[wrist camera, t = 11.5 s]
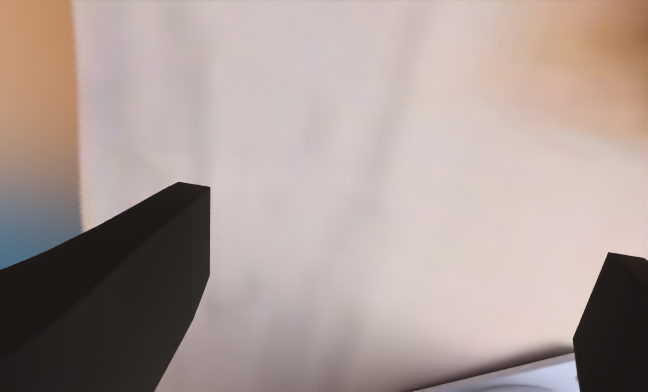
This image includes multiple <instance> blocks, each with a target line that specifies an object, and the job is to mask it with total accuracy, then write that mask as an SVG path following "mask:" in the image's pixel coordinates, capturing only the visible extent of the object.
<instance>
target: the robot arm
mask: <svg viewBox="0 0 648 392" xmlns="http://www.w3.org/2000/svg"><path fill="white" fill-rule="evenodd" d="M209 276H210V187H207V186H201V185H195V184H189V183H183V182H177V183H175V184H173V185H171V186H169V187H167V188H165V189H163V190H161V191H160V192H158V193H156V194H154V195H152V196H151V197H149V198H147V199H145V200H144V201H142V202H140V203H138V204H137V205H135V206H133V207H131V208H129V209H128V210H126V211H124V212H122V213H120V214H119V215H117V216H115V217H113V218H111V219H109V220H108V221H106V222H104V223H102V224H100V225H98V226H97V227H95V228H92V229H90V230H88V231H86V232H84V233H82V234H80V235H78V236H76V237H74V238H72V239H70V240H68V241H66V242H64V243H62V244H60V245H58V246H56V247H54V248H52V249H50V250H48V251H45V252H43V253H41V254H39V255H36V256H34V257H31V258H29V259H27V260H24V261H22V262H20V263H17V264H14V265H12V266H9V267H7V268H4V269H1V270H0V392H154V391H155V389H156V387H157V385H158V383H159V382H160V380H161V378H162V376H163V374H164V373H165V371H166V369H167V367H168V365H169V363H170V362H171V360H172V358H173V356H174V354H175V352H176V351H177V349H178V347H179V345H180V343H181V341H182V339H183V338H184V336H185V334H186V332H187V330H188V328H189V326H190V324H191V322H192V321H193V318H194V316H195V313H196V311H197V308H198V306H199V303H200V300H201V298H202V295H203V292H204V290H205V287H206V284H207V281H208V279H209ZM573 346H574V353H571V354H566V355H562V356H558V357H554V358H550V359H546V360H542V361H537V362H533V363H529V364H525V365H521V366H517V367H513V368H508V369H504V370H500V371H496V372H492V373H488V374H484V375H480V376H475V377H471V378H467V379H463V380H459V381H455V382H451V383H446V384H442V385H438V386H434V387H430V388H426V389H422V390H417V391H413V392H648V260H646V259H645V258H641V257H634V256H628V255H622V254H616V253H610V252H608V254H607V257H606V259H605V262H604V264H603V267H602V269H601V271H600V274H599V276H598V279H597V281H596V284H595V286H594V288H593V291H592V293H591V296H590V298H589V300H588V303H587V305H586V308H585V310H584V313H583V315H582V317H581V320H580V322H579V325H578V327H577V330H576V332H575V334H574V337H573Z"/></svg>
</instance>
